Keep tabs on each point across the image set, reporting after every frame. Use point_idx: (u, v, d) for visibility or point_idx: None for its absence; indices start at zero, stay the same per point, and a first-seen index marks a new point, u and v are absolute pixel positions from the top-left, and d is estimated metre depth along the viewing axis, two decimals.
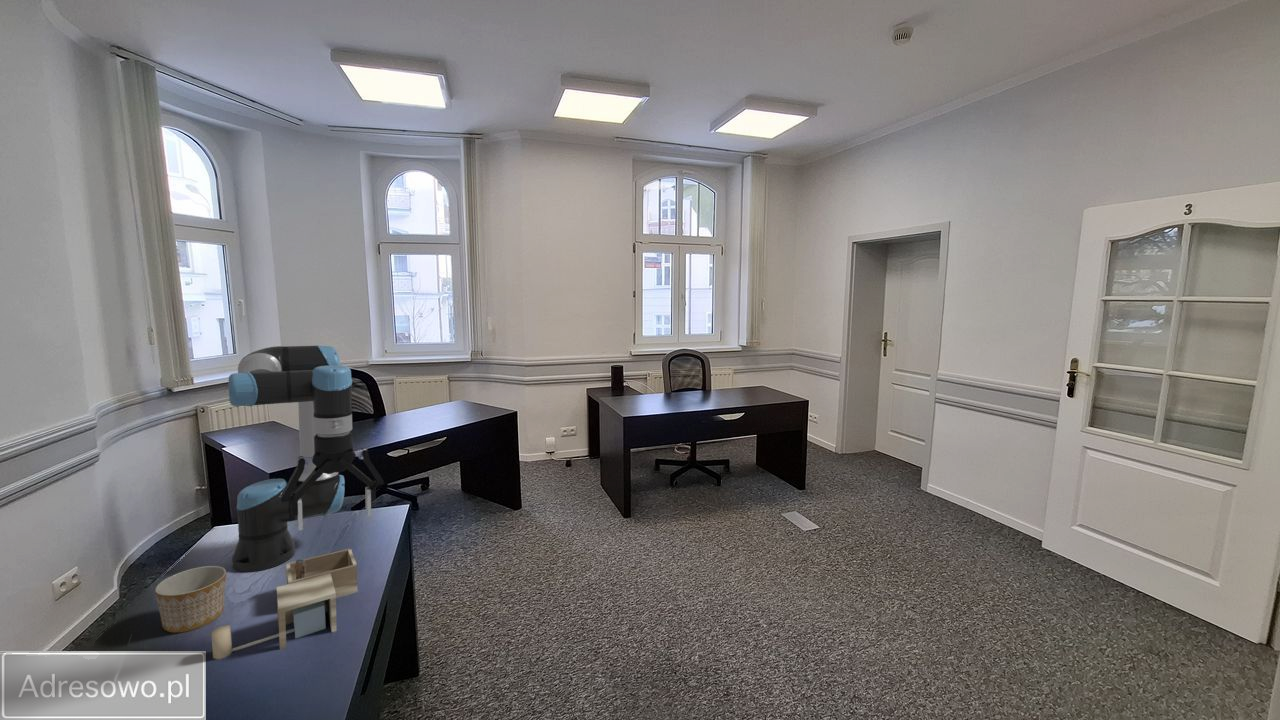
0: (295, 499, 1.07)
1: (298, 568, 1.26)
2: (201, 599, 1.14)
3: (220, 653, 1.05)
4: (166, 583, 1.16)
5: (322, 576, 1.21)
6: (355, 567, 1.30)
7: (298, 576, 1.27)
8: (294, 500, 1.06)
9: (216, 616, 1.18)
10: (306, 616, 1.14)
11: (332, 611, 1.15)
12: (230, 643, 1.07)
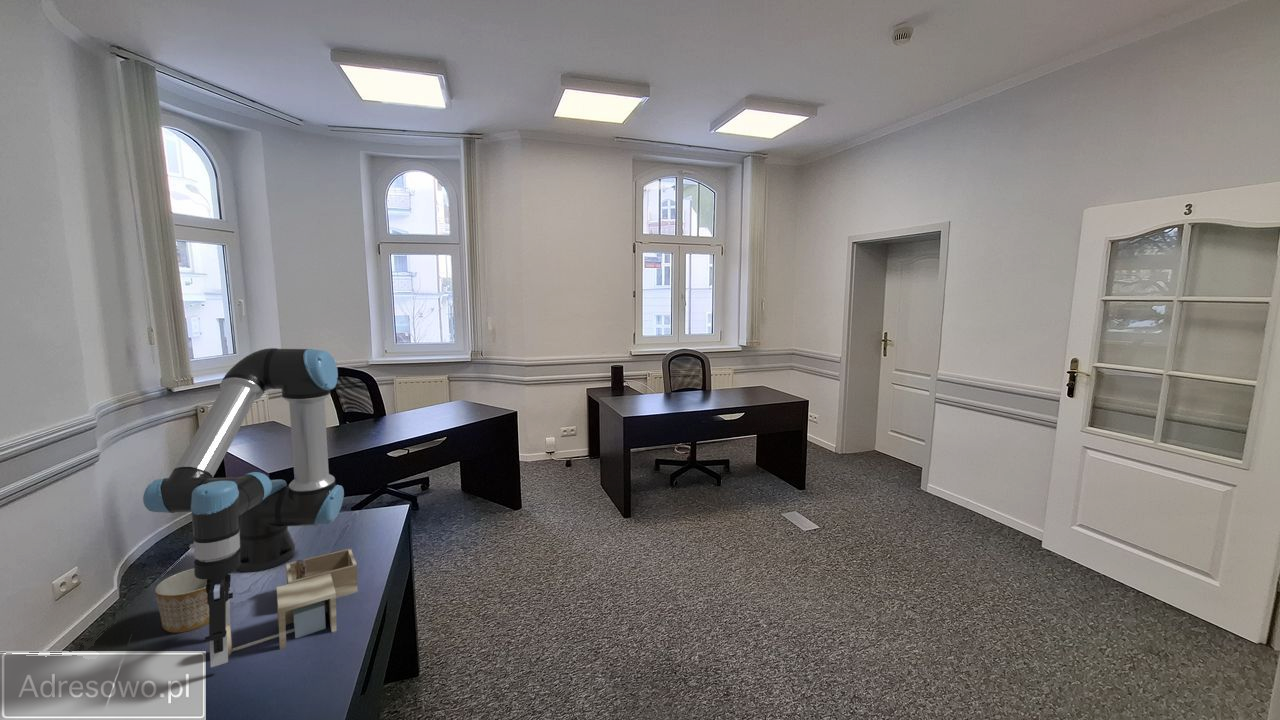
0: None
1: (298, 568, 1.26)
2: (201, 599, 1.14)
3: None
4: (166, 583, 1.16)
5: (322, 576, 1.21)
6: (355, 567, 1.30)
7: (298, 576, 1.27)
8: None
9: None
10: (306, 616, 1.14)
11: (332, 611, 1.15)
12: (230, 643, 1.07)
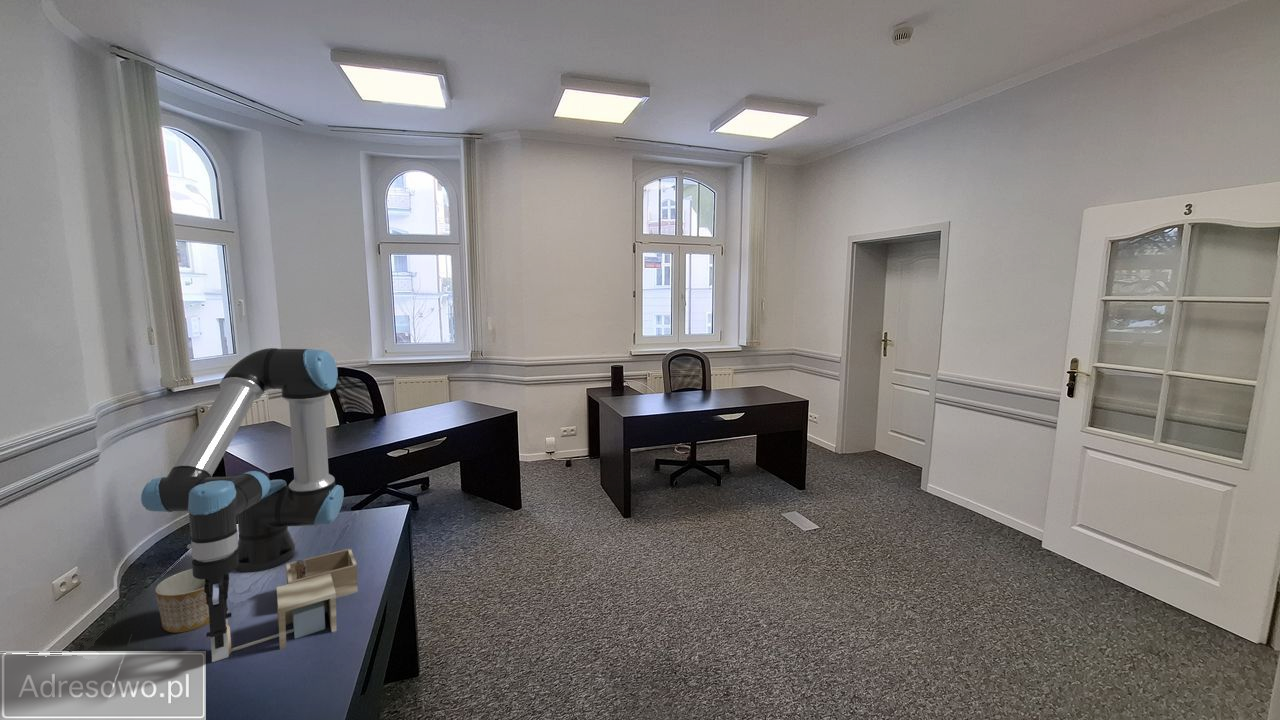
0: None
1: (299, 569, 1.26)
2: (201, 599, 1.14)
3: None
4: (166, 583, 1.16)
5: (322, 576, 1.21)
6: (355, 567, 1.30)
7: (299, 577, 1.26)
8: None
9: None
10: (305, 616, 1.13)
11: (332, 611, 1.15)
12: (229, 643, 1.07)
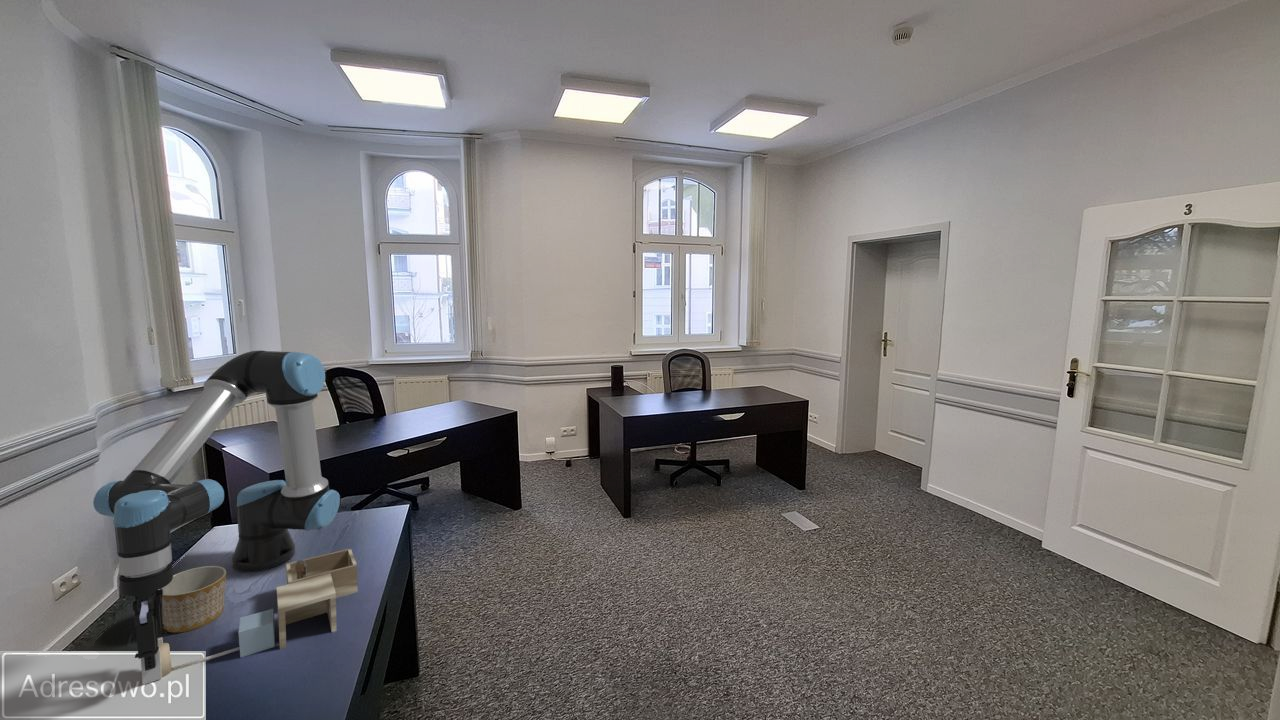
0: None
1: (299, 569, 1.26)
2: (201, 599, 1.14)
3: None
4: None
5: (322, 576, 1.21)
6: (355, 567, 1.30)
7: (299, 577, 1.26)
8: None
9: (216, 616, 1.18)
10: (252, 634, 1.07)
11: (332, 611, 1.15)
12: (169, 662, 1.01)
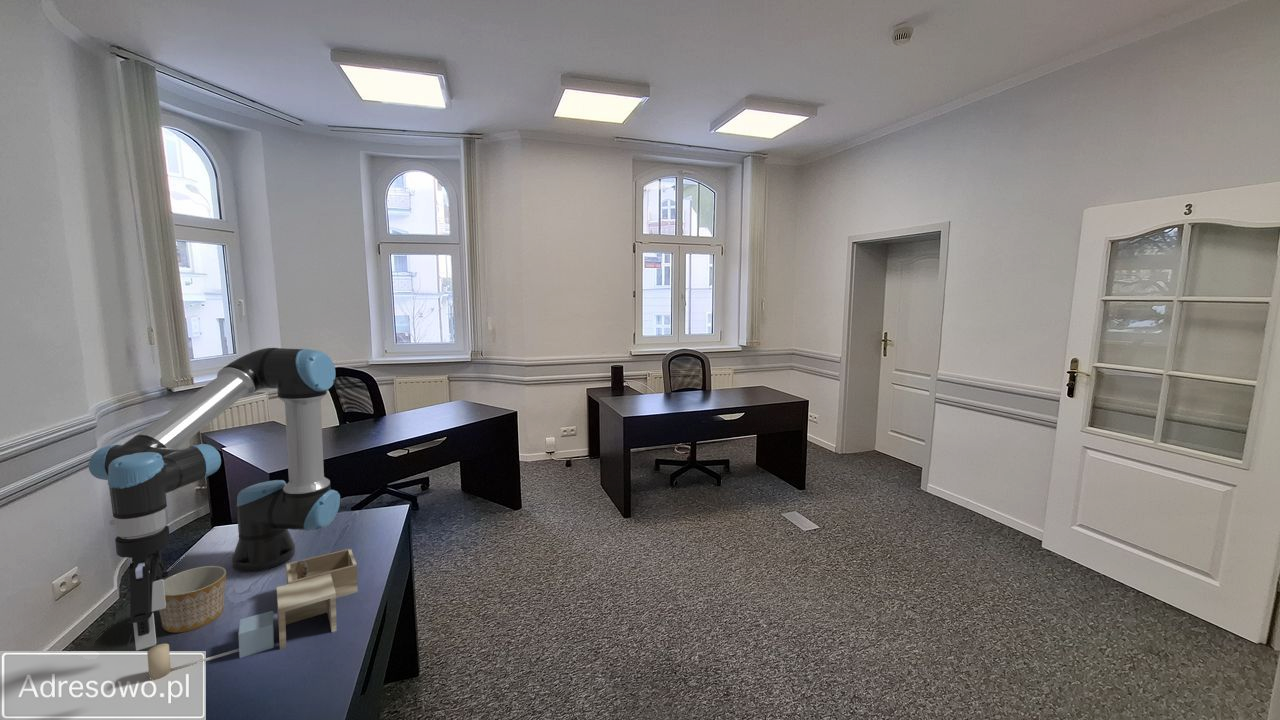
0: None
1: (300, 569, 1.26)
2: (201, 599, 1.14)
3: (155, 673, 0.99)
4: (166, 583, 1.16)
5: (322, 576, 1.21)
6: (355, 567, 1.30)
7: (300, 577, 1.26)
8: None
9: (216, 616, 1.18)
10: (252, 636, 1.07)
11: (332, 611, 1.15)
12: (168, 663, 1.01)
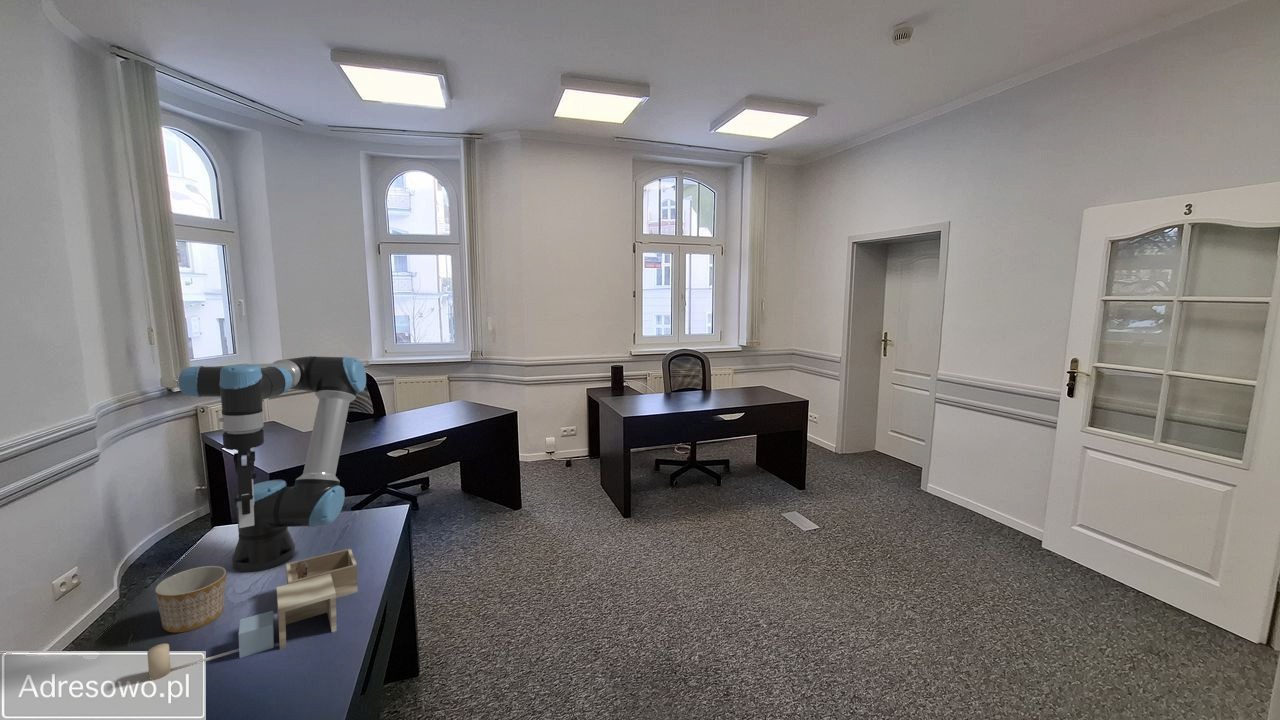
0: None
1: (300, 570, 1.26)
2: (201, 599, 1.14)
3: (155, 673, 0.99)
4: (166, 583, 1.16)
5: (322, 576, 1.21)
6: (355, 567, 1.30)
7: (300, 578, 1.26)
8: None
9: (216, 616, 1.18)
10: (252, 636, 1.07)
11: (332, 611, 1.15)
12: (168, 663, 1.01)
